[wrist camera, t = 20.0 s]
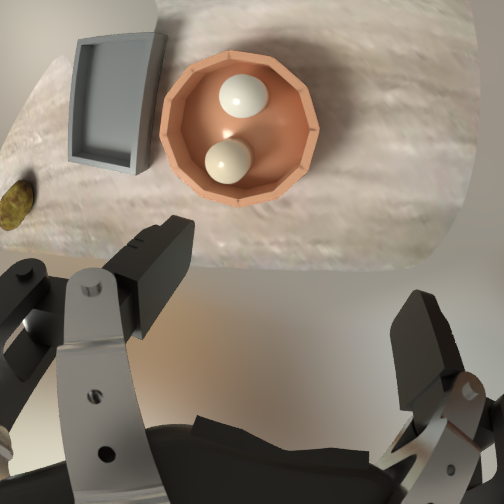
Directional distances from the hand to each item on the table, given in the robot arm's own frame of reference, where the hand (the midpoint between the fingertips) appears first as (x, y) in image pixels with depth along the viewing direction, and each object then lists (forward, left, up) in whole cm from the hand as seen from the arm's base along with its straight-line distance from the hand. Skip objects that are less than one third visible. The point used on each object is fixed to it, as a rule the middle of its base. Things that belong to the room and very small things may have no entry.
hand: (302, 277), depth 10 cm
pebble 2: (+4, -9, -27) cm, 29 cm away
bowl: (0, -9, -28) cm, 30 cm away
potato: (+22, -56, -28) cm, 66 cm away
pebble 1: (-4, -9, -27) cm, 29 cm away
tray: (-1, -29, -28) cm, 40 cm away
